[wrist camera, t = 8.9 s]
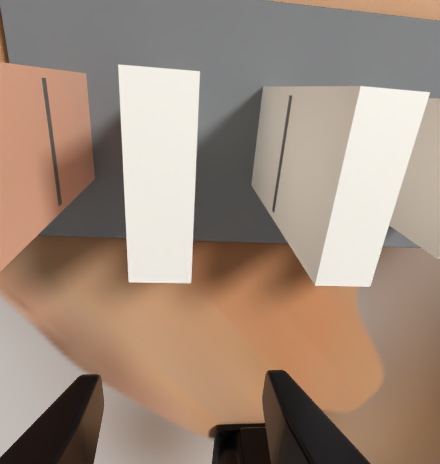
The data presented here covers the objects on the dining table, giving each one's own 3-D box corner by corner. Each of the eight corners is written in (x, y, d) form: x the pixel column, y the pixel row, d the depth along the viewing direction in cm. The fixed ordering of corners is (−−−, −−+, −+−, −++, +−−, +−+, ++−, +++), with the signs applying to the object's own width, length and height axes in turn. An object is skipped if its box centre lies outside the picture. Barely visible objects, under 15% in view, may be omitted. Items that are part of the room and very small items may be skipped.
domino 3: (279, 186, 18) (371, 286, 9) (250, 185, 18) (314, 285, 9) (295, 89, 16) (431, 92, 7) (262, 86, 16) (359, 86, 7)
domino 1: (95, 178, 17) (-11, 283, 8) (62, 177, 17) (-84, 282, 8) (86, 73, 15) (-68, 53, 6) (49, 70, 15) (-167, 45, 6)
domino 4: (364, 191, 19) (529, 289, 10) (337, 189, 19) (479, 288, 9) (389, 97, 17) (627, 109, 8) (358, 94, 17) (565, 104, 7)
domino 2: (190, 181, 18) (191, 283, 9) (159, 180, 17) (127, 282, 8) (193, 80, 16) (201, 71, 7) (159, 77, 15) (117, 64, 6)
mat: (456, 245, 22) (462, 249, 21) (41, 230, 19) (37, 235, 18) (541, 35, 17) (553, 34, 16) (1, -27, 14) (-6, -32, 13)
